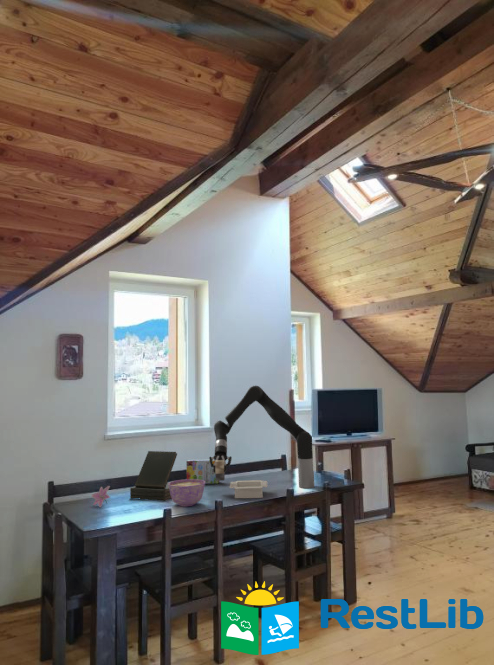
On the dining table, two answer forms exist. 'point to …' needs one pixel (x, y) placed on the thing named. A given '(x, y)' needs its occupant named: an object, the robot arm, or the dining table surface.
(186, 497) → the bowl of food
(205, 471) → the snack box
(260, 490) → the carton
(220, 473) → the block
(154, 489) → the tilted panel on base
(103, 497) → the lily
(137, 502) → the dining table surface
